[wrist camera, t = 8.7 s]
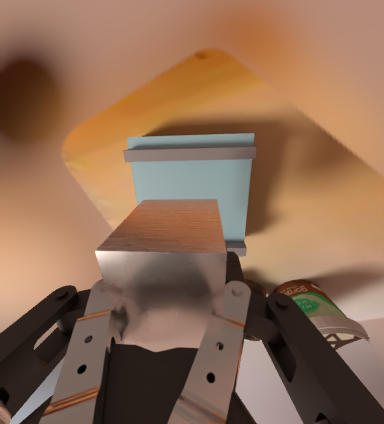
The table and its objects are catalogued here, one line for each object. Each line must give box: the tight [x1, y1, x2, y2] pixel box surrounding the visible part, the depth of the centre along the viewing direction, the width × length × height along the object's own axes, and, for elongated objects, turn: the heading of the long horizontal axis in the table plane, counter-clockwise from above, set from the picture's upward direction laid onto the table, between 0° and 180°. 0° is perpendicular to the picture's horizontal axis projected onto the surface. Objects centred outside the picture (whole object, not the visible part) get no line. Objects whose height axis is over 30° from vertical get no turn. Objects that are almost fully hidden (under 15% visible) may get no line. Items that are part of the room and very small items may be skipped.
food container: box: [273, 280, 371, 350], centre depth 29 cm, size 12×6×10 cm, turn 132°
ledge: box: [123, 133, 257, 257], centre depth 25 cm, size 14×16×6 cm
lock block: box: [95, 199, 227, 352], centre depth 11 cm, size 5×8×6 cm, turn 2°
